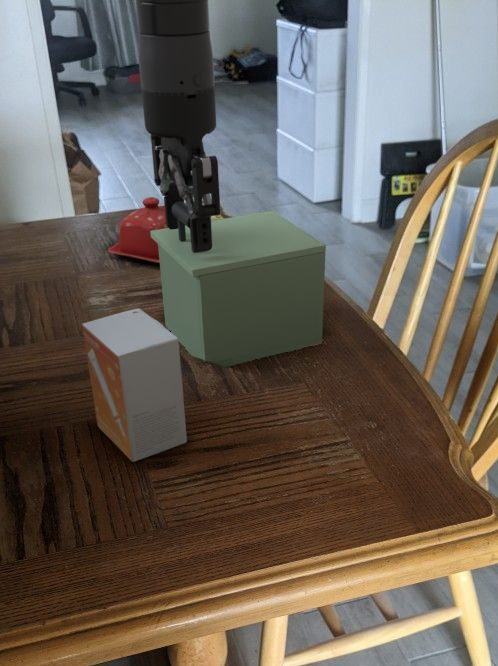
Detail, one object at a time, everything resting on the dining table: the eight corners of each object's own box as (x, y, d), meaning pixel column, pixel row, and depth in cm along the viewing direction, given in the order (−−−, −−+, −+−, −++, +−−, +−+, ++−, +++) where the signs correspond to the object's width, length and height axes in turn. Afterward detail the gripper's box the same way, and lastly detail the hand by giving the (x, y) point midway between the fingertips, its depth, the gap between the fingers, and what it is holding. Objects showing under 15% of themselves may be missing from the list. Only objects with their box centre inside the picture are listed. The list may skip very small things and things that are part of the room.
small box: (98, 437, 81) (79, 322, 74) (152, 418, 84) (139, 306, 76) (133, 475, 76) (117, 355, 68) (190, 453, 79) (180, 336, 71)
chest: (205, 372, 92) (199, 276, 85) (165, 326, 102) (157, 236, 95) (322, 344, 98) (325, 252, 91) (273, 303, 108) (273, 217, 101)
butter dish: (104, 258, 121) (96, 202, 116) (148, 235, 129) (143, 182, 124) (164, 271, 117) (159, 214, 112) (206, 247, 125) (203, 193, 120)
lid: (192, 277, 85) (189, 229, 82) (150, 237, 95) (146, 193, 92) (325, 251, 91) (327, 206, 88) (273, 216, 101) (272, 175, 97)
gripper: (121, 73, 84) (137, 225, 93) (167, 98, 73) (180, 266, 83) (186, 67, 86) (196, 215, 96) (240, 90, 76) (244, 254, 86)
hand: (188, 238), depth 90 cm, fingers open, 7 cm apart
